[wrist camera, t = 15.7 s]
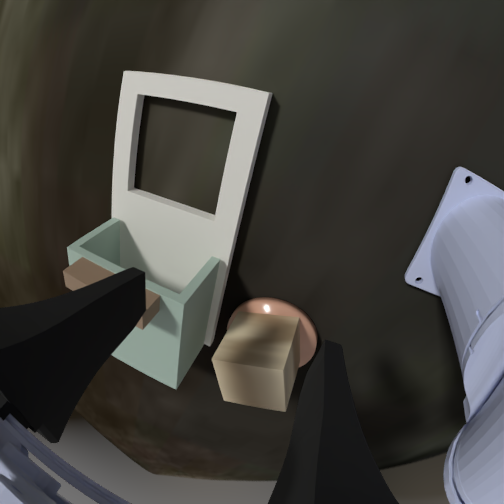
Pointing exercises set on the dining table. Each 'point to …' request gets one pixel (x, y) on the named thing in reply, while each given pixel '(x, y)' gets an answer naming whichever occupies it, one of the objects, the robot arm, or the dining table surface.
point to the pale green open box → (149, 307)
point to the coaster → (284, 309)
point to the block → (259, 360)
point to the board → (173, 213)
